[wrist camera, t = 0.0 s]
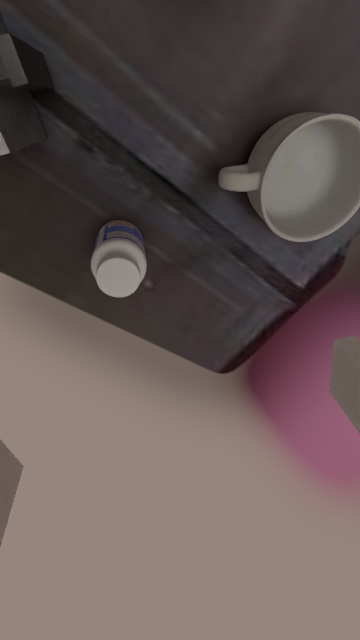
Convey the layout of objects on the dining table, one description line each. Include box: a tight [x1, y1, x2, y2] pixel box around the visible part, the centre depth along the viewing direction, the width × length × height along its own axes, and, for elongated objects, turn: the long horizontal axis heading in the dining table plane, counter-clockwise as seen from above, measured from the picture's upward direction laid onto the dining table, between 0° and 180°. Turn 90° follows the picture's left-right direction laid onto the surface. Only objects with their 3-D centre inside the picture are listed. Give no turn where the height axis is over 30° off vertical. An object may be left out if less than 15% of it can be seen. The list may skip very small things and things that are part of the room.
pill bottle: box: [91, 220, 147, 297], centre depth 33 cm, size 5×5×10 cm
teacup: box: [218, 112, 360, 242], centre depth 32 cm, size 14×11×8 cm
